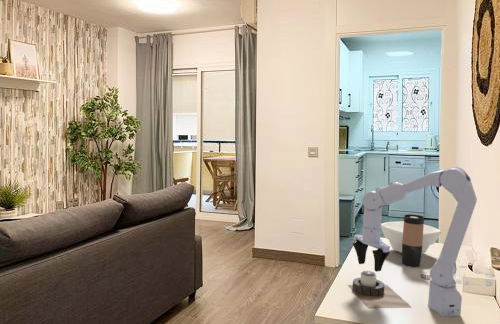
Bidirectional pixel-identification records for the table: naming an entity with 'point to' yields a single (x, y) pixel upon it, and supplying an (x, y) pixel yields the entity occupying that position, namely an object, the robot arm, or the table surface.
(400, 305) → the socket board
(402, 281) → the table surface
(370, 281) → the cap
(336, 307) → the table surface
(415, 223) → the travel mug
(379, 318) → the table surface
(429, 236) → the bowl
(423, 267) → the table surface
